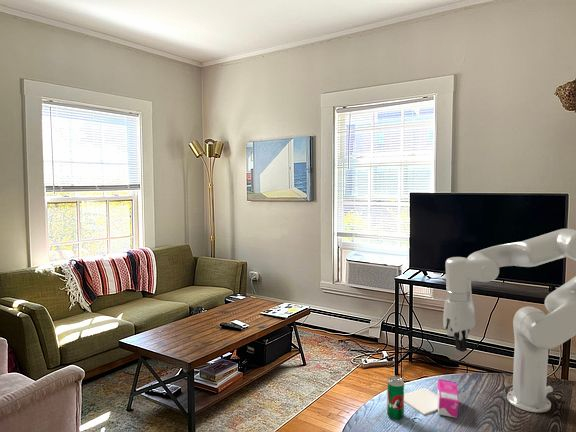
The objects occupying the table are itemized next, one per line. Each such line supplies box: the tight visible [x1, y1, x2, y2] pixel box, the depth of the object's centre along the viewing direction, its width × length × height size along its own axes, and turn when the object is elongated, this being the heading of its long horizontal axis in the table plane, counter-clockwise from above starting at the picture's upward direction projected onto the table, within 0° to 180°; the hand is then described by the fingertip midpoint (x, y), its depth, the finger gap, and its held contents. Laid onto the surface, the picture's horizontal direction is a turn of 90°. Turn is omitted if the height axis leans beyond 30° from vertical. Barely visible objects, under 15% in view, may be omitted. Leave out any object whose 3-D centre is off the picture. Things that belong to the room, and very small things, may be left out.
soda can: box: [386, 375, 405, 421], centre depth 138 cm, size 5×5×12 cm
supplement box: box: [436, 378, 460, 419], centre depth 142 cm, size 6×6×12 cm
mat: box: [404, 387, 438, 416], centre depth 146 cm, size 12×12×1 cm
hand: (461, 349), depth 145 cm, fingers closed
